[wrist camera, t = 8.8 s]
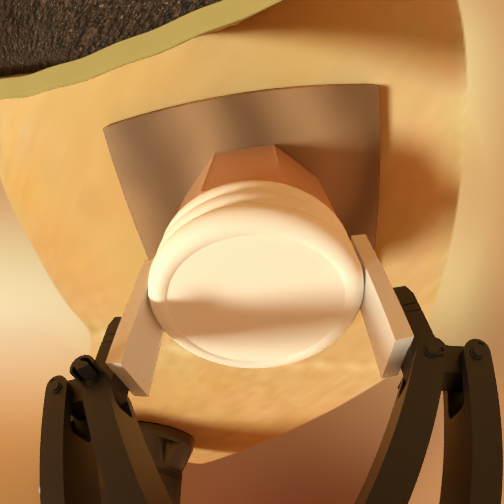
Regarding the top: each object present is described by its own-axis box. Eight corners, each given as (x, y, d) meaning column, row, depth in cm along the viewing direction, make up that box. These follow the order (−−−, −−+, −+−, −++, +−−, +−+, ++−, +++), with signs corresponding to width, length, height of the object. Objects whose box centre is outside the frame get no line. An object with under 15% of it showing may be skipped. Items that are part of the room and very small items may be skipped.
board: (170, 294, 27) (168, 303, 26) (110, 124, 18) (102, 128, 17) (366, 271, 26) (370, 280, 25) (371, 83, 16) (378, 85, 15)
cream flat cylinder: (147, 297, 18) (132, 343, 15) (195, 143, 12) (176, 172, 9) (293, 340, 20) (298, 384, 17) (383, 224, 14) (409, 266, 12)
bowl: (206, 268, 24) (195, 326, 19) (175, 160, 19) (148, 200, 14) (320, 254, 23) (336, 311, 18) (315, 140, 18) (340, 173, 13)
